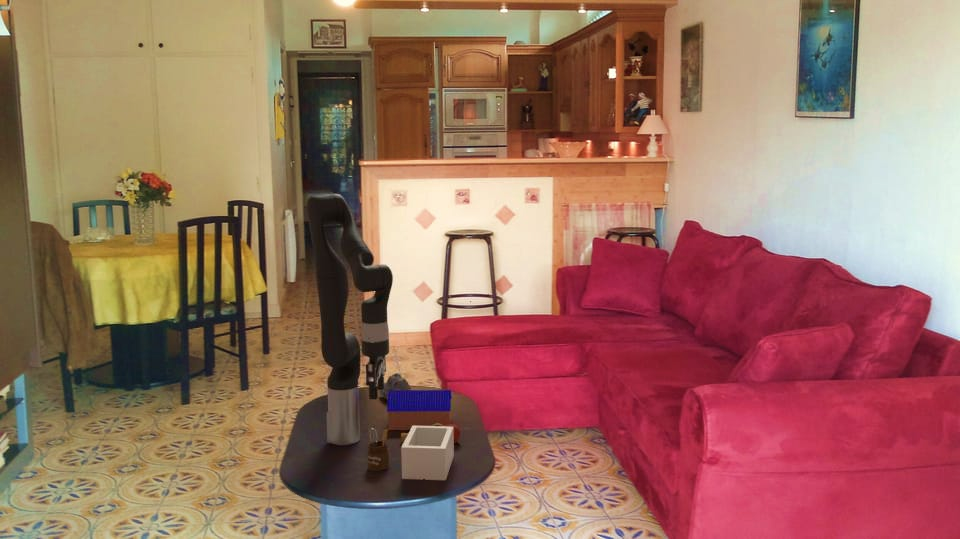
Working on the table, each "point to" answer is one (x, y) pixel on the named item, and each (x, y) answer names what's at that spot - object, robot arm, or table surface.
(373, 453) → the utensil holder
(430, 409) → the house
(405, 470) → the open rectangular box
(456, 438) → the kendama
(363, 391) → the table surface
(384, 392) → the mineral rock
